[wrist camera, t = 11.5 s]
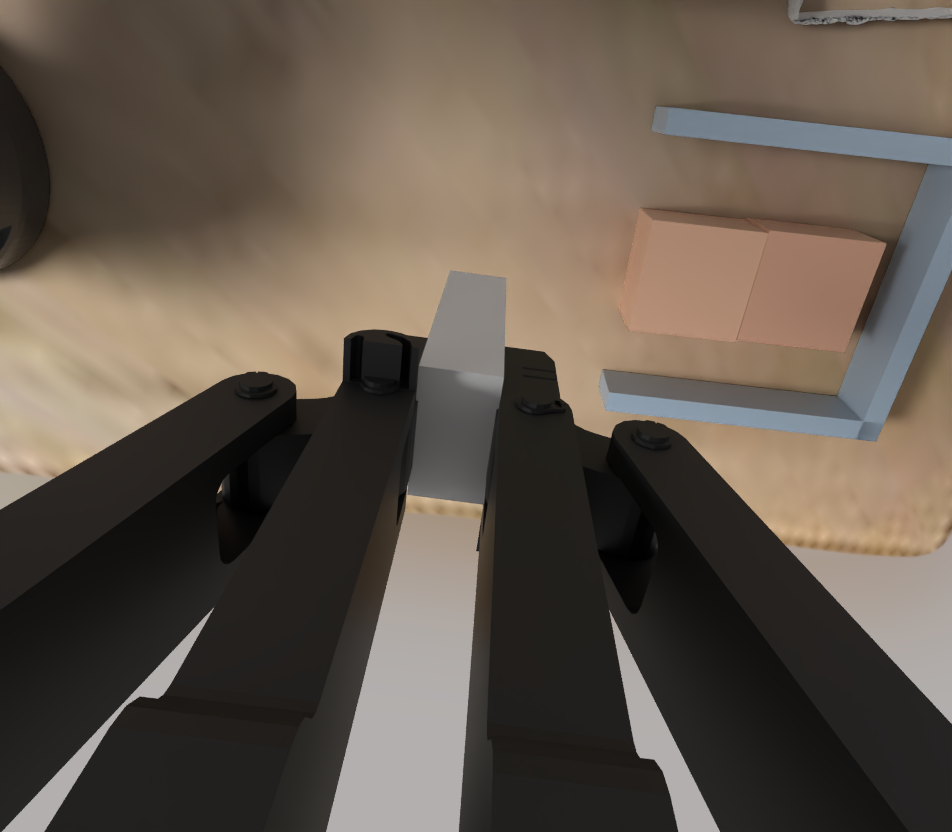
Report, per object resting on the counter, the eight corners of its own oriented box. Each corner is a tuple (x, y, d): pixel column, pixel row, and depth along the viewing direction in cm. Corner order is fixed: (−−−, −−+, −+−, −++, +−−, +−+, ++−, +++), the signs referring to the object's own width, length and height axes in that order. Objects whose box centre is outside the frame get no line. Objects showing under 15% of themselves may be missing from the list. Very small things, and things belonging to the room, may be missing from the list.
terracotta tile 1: (618, 308, 39) (628, 330, 36) (639, 207, 36) (652, 219, 33) (715, 319, 39) (735, 342, 35) (744, 219, 36) (768, 233, 33)
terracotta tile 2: (716, 317, 39) (736, 340, 35) (745, 216, 36) (769, 230, 33) (814, 328, 39) (844, 352, 35) (850, 228, 36) (887, 243, 33)
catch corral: (598, 386, 41) (605, 410, 38) (656, 106, 34) (670, 107, 31) (848, 415, 41) (875, 441, 38) (961, 139, 34) (1007, 144, 30)
